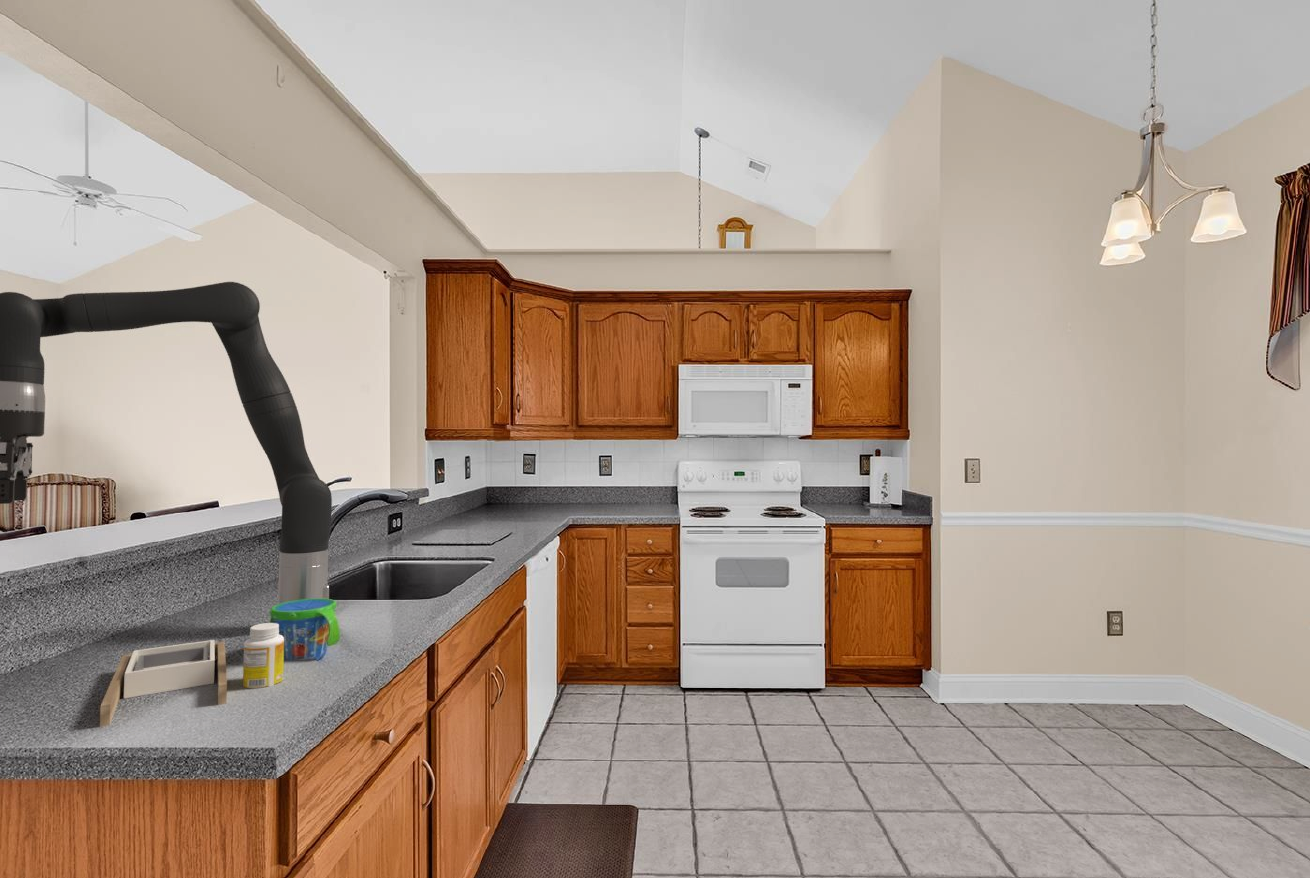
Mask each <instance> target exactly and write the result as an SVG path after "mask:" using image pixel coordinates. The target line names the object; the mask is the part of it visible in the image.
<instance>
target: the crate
mask: <svg viewBox="0 0 1310 878" xmlns="http://www.w3.org/2000/svg"><path fill="white" fill-rule="evenodd" d="M215 643H216V642H215V639H210V640H204V641H196V642H188V643H183V644H182V643H181V644H174V645H173V644H172V645H166V646H159V647H151V648H143V649H137V650H135V649H134V650H133V652H132V653H131V654H132V656H131V659H130V662H129V664H128V667H127V669H126V672H125V678H124V689H123V699H129V698H135V697H140V696H148V695H152V694H153V695H154V694H159V693H165V692H171V691H177V690H181V689H188V688H194V687H200V686H206V685H213V684H214V683H215V661H216V660H215Z"/></svg>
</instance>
